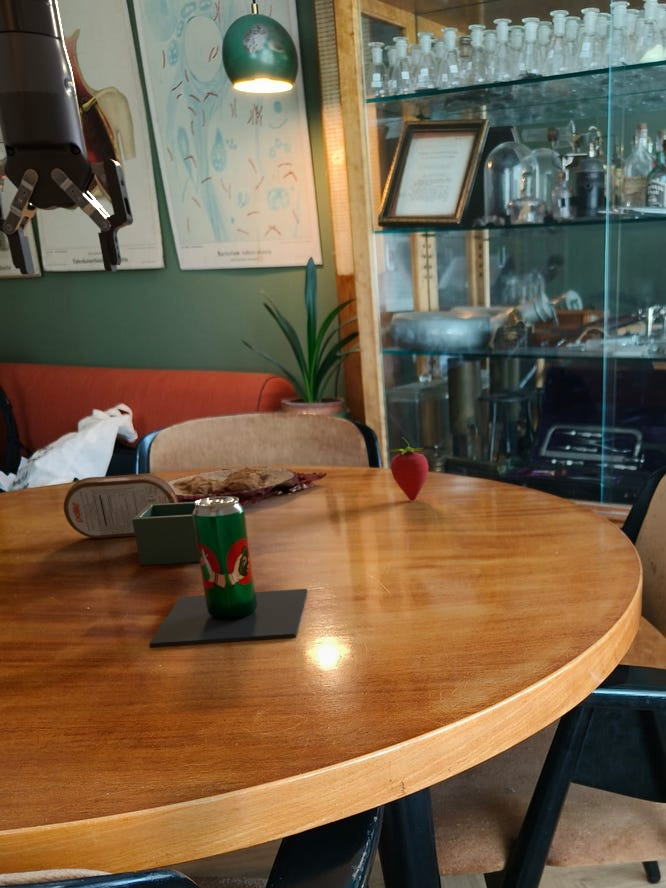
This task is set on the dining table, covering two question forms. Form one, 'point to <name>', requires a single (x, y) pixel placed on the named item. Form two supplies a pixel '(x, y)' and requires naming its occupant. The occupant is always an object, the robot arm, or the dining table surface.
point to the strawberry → (409, 470)
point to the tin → (113, 503)
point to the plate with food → (240, 483)
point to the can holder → (166, 534)
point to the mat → (266, 622)
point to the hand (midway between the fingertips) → (69, 273)
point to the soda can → (224, 557)
